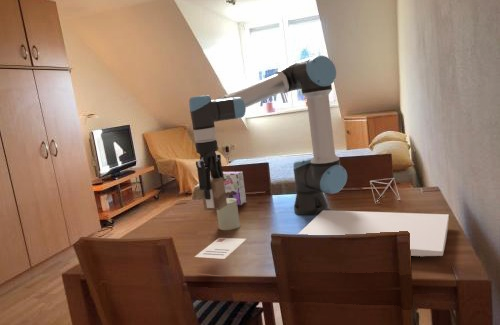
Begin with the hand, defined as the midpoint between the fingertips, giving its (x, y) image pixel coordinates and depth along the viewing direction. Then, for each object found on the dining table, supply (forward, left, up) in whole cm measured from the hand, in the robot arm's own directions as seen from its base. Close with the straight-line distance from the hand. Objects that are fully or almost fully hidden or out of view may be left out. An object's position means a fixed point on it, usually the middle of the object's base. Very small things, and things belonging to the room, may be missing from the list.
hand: (215, 204), depth 139 cm
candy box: (+24, -57, -17) cm, 64 cm away
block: (0, 0, -1) cm, 1 cm away
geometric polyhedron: (-51, -61, -17) cm, 81 cm away
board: (-51, -14, -17) cm, 56 cm away
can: (+8, -22, -17) cm, 29 cm away
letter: (0, 0, -16) cm, 16 cm away
